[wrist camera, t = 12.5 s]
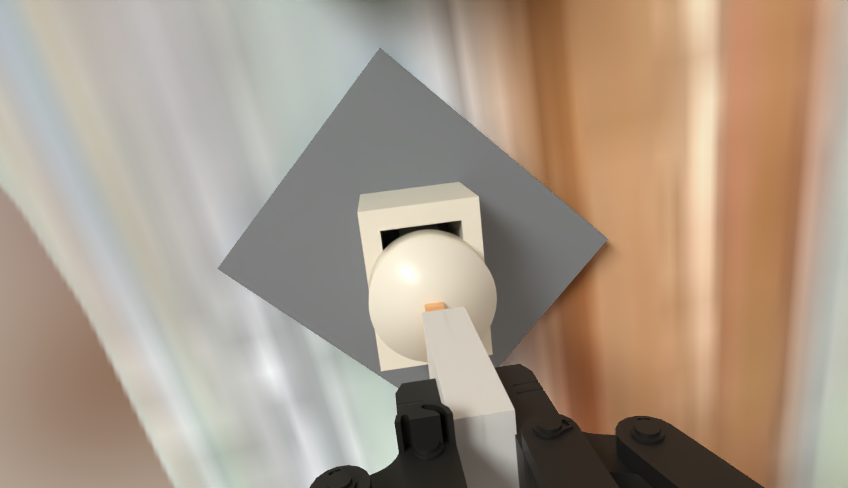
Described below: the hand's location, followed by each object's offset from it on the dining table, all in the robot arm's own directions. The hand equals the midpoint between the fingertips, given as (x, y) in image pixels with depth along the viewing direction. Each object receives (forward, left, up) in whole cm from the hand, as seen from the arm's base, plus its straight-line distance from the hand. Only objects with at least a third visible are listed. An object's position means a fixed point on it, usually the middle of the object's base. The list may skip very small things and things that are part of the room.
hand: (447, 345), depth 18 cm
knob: (0, 0, -12) cm, 12 cm away
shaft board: (0, 0, -13) cm, 13 cm away
